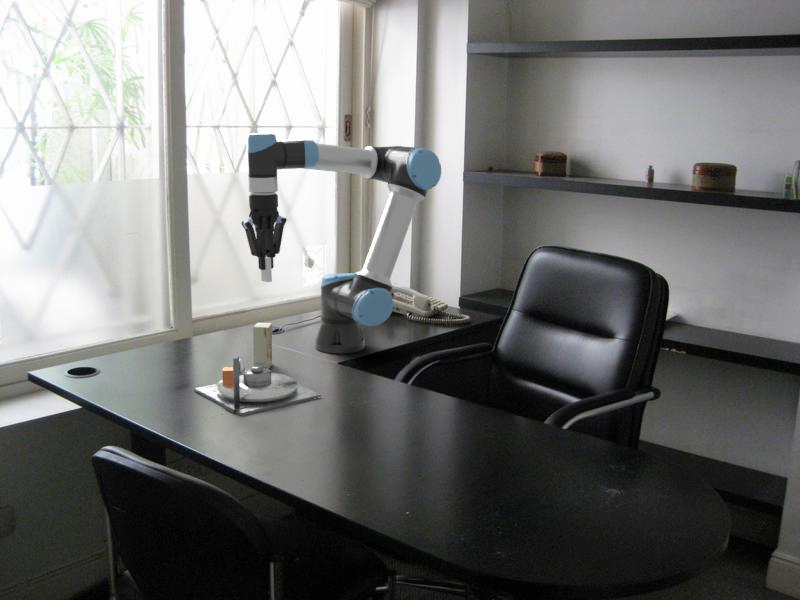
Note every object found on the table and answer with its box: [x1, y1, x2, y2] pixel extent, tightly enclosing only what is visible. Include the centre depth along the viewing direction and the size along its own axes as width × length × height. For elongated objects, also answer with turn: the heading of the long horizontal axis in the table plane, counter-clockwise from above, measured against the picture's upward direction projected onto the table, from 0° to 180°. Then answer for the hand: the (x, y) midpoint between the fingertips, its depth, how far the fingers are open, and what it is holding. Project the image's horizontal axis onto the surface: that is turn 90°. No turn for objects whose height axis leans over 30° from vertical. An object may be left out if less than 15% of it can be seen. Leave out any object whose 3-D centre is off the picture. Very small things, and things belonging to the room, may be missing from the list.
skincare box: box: [252, 322, 273, 370], centre depth 240 cm, size 6×4×12 cm
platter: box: [216, 366, 298, 402], centre depth 216 cm, size 20×20×5 cm
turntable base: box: [194, 383, 322, 417], centre depth 217 cm, size 23×23×1 cm
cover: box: [243, 365, 272, 388], centre depth 217 cm, size 7×7×4 cm
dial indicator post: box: [224, 356, 248, 415], centre depth 205 cm, size 4×6×13 cm
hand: (266, 281), depth 229 cm, fingers closed
